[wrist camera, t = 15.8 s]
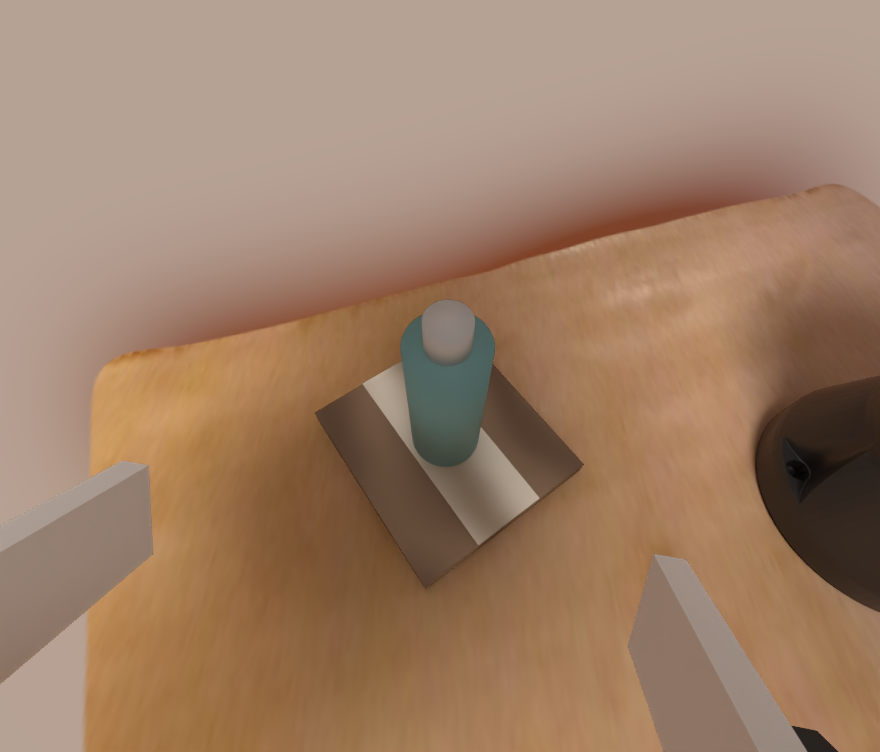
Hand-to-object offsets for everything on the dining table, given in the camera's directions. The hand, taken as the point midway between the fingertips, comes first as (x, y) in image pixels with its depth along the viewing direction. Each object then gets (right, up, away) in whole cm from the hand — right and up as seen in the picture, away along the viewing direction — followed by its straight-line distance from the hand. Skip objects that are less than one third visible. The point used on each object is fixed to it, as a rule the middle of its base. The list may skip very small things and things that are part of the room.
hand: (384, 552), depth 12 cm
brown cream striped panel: (+2, -1, +21) cm, 21 cm away
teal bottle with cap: (+2, 0, +20) cm, 20 cm away
